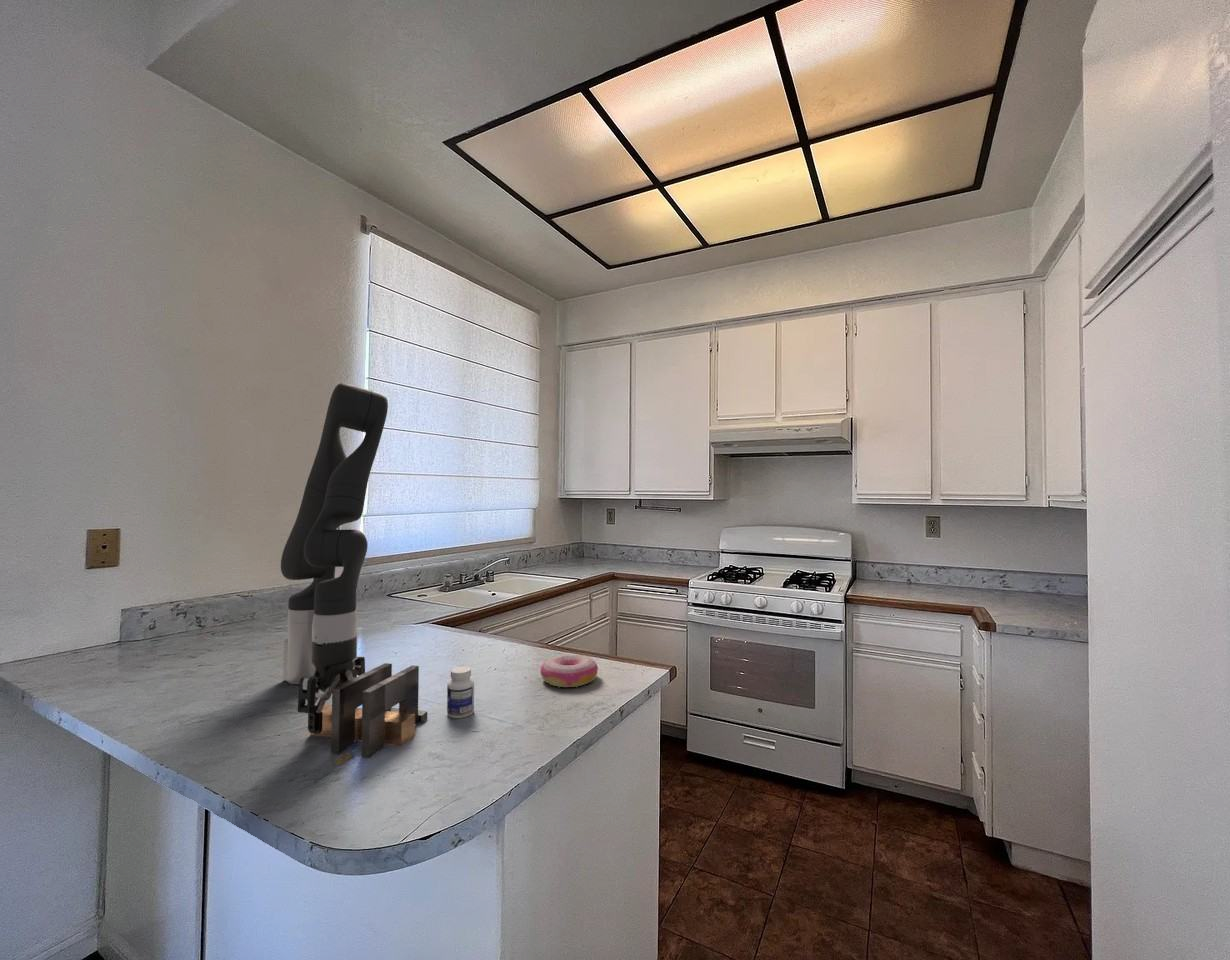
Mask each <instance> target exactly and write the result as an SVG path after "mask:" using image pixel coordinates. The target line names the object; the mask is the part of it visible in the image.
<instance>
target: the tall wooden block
mask: <svg viewBox="0 0 1230 960" xmlns="http://www.w3.org/2000/svg"><path fill="white" fill-rule="evenodd" d="M321 712H323V719H322V732H320V733H318V734H313V733H310V735H311V736H317V737H324V738H325V737H326V738H331V733H332V704H327V705H324V706H323V709H322V711H321ZM415 736H416V725H415V714H409V713H400V712H391V711H385V724H384V745H389V746H397V747H398V746H399V747H402V746H403V745H405V744H406V743H407V742H409V741H410V740H411V739H413V738H414V737H415ZM356 741H358V742H362V707H361V708H360V707H357V708H355V742H356Z"/></svg>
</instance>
